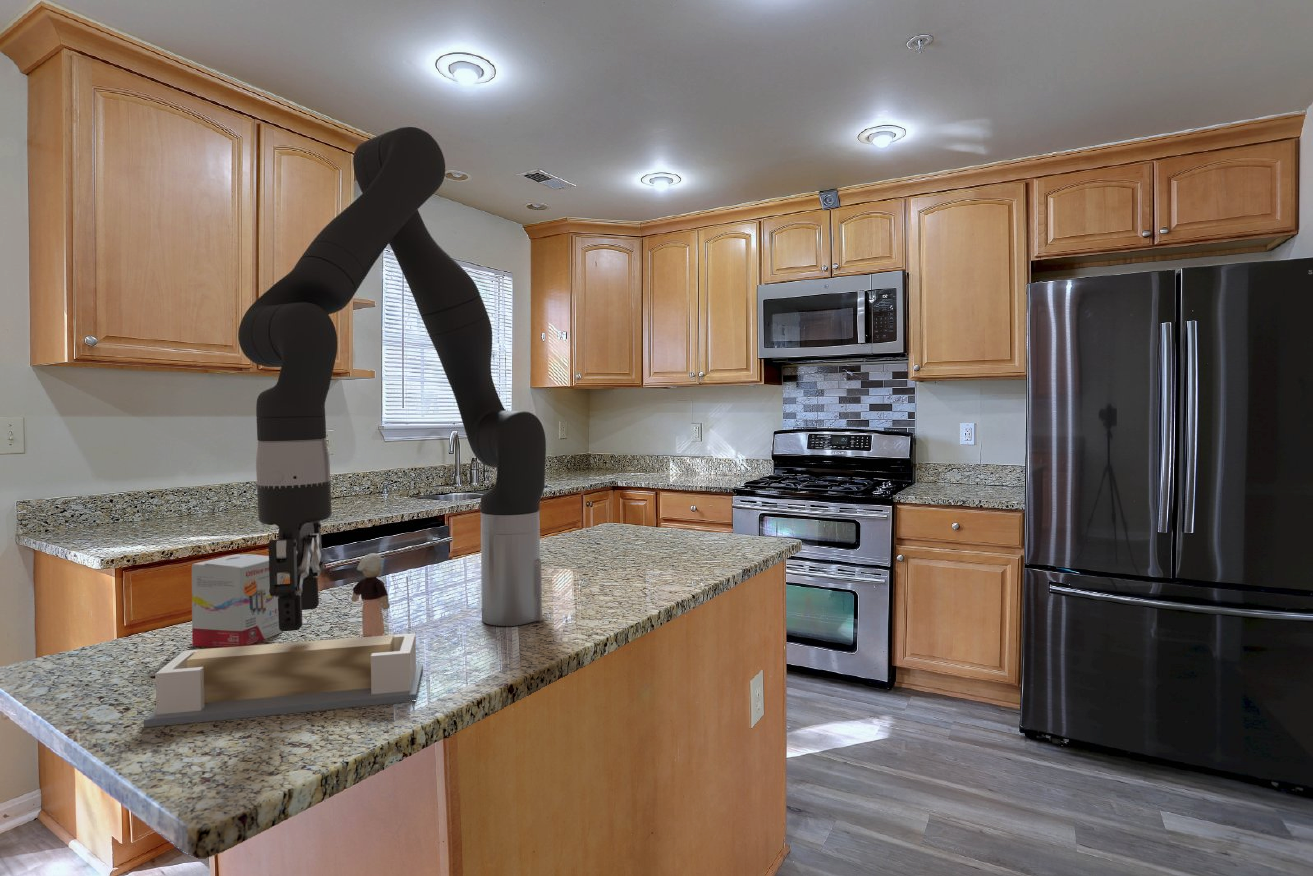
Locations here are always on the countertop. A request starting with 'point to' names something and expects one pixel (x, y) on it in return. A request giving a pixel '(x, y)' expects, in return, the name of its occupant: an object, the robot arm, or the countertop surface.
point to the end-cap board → (185, 696)
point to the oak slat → (288, 668)
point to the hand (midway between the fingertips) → (300, 618)
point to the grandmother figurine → (371, 595)
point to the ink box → (233, 602)
